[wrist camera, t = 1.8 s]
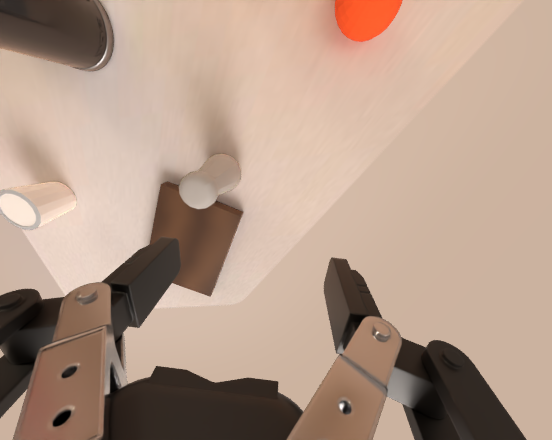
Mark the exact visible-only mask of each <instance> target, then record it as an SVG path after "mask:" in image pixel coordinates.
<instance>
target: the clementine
mask: <svg viewBox="0 0 552 440" xmlns="http://www.w3.org/2000/svg"><path fill="white" fill-rule="evenodd" d="M401 4H402V0H336V2H335V16H336V20H337V24H338V26H339V28H340V30H341V32H342V33H343V34H344V35H345V36H346V37H347V38H349V39H352V40H354V41H366V40H370V39H372V38H374V37H376V36H377V35H379V34H381V33H382V32H383V31H384V30H385V29H386V28H387V27H388V26H389V25H390V23H391V22H392V21H393V19H394V18H395V16H396V14H397V12H398V10H399V8H400V6H401Z"/></svg>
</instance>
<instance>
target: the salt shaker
mask: <svg viewBox="0 0 552 440" xmlns="http://www.w3.org/2000/svg"><path fill="white" fill-rule="evenodd" d="M240 180H241V169H240V166H239V164H238V162H237V161H236V160H235V159H234V158H233V157H231V156H229V155H226V154H216V155H213V156H212V157H210V158H209V159H208V160H207V161H206V162H205V163H204V164H203V166H202V167H201V168H200V170H199V171H195V172H190V173H189V174H187V175H186V176H185V177H183V178H182V179H181V182H180V185H179V194H180V196H181V198H182V199H183V201H184V202H185V203H186V204H187V205H189V206H190V207H193V208H196V209H205V208H207V207H209V206H210V205H212V204H213V203H214V202H215V201H216V199H217V197H218V195H220V194H223V193H226V192H228V191H231V190H232V189H234V188H235V187H236V186H237V185H238V183H239V182H240Z"/></svg>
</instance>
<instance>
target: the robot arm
mask: <svg viewBox="0 0 552 440" xmlns="http://www.w3.org/2000/svg"><path fill="white" fill-rule="evenodd" d="M0 48H1V49H5V50H9V51H13V52H17V53H21V54H25V55H29V56H33V57H37V58H40V59H44V60H48V61H52V62H56V63H60V64H64V65H68V66H71V67H74V68H77V69H81V70H85V71H95V70H99V69H101V68H102V67H104V66H105V65H106V64H107V63H108V61H109V59H110V57H111V55H112V51H113V32H112V27H111V24H110V21H109V18H108V16H107V14H106V12H105V10H104V8H103V7H102V5H101V4H100V2H99V1H98V0H0ZM180 268H181V258H180V248H179V241H178V239H177V238H169V237H160V238H159V239H158V240H157V241H156V242H155V243H153V244H152V245H148V246H146V247H144V248H142V249H140V250H138V251H137V252H136V253H135V254H134V255H132V257H131V258H129V259H128V260H127V261H125V263H123V264H122V265H121V266H120V267H118V268H117V269H116V270H115V271H114V272H113V273H111V274H110V275H109V276H108V277H107V278H106V279H104V280H103V281H102V282H96V283H90V284H86V285H83V286H81V287H78V288H76V289H74V290H73V291H71V292H70V293H69V294H67V295H66V296H65V297H61V298H51V299H43V300H42V298H41V296H40V294H39V292H38V291H37V290H35V289H21V290H16V291H12V292H9V293H6V294H3V295H1V296H0V349H1V350H2V352H3V353H4V356H3V357H1V358H0V418H1V416H3V415H4V413H5V412H6V411H7V410H8V409H9V408H10V407H11V406H12V405H13V404H14V403H15V402H16V400H17V399H18V398H19V397H20V396H21V395H22V394H23V393H24V392H25V391H26V389H27V392H26V396H25V399H24V403H23V406H22V410H21V413H20V416H19V420H18V423H17V427H16V430H15V434H14V437H13V440H373V437H374V434H375V431H376V427H377V425H378V422H379V418H380V415H381V412H382V409H383V406H384V403H385V400H386V397H389V398H391V399H393V400H395V401H397V402H400V403H401V404H403V407H404V410H405V413H406V416H407V419H408V422H409V425H410V428H411V430H412V433H413V436H414V439H415V440H526V438H525V437H524V435H523V434H522V432H521V431H520V430H519V428H518V427H517V425H516V424H515V422H514V421H513V420H512V418H511V417H510V415H509V414H508V412H507V411H506V410H505V408H504V407H503V405H502V404H501V403H500V401H499V400H498V398H497V397H496V395H495V394H494V392H493V391H492V390H491V388H490V387H489V385H488V384H487V382H486V381H485V380H484V378H483V377H482V375H481V374H480V372H479V371H478V370H477V368H476V367H475V365H474V364H473V363H472V361H471V360H470V359H469V358H468V357H467V356H466V355H465V354H464V353H463V352H462V351H460V350H459V349H458V348H456V347H454V346H453V345H451V344H449V343H446V342H444V341H439V340H433V341H431V342H429V344H428V345H427V347H423V346H421V345H419V344H416V343H413V342H411V341H408V340H406V339H404V338H402V337H401V335H400V333H399V332H398V330H397V329H396V328H395V327H394V326H393V325H392V324H391V323H389V322H388V321H386V320H384V319H382V317H381V314H380V312H379V310H378V308H377V306H376V304H375V301H374V299H373V298H372V295H371V294H370V291H369V289H368V287H367V284H366V282H365V280H364V278H363V277H362V276H361V275H360V274H359V273H358V272H357V271H356V270H351V269H350V266H349V264H348V261H347V260H346V259H339V258H331V260H330V262H329V266H328V270H327V274H326V277H325V282H324V294H325V299H326V305H327V309H328V315H329V320H330V325H331V330H332V335H333V340H334V345H335V350H336V353H338V354H339V356H338V357H337V359H336V360H335V362H334V363H333V365H332V367H331V368H330V370H329V371H328V373H327V375H326V377H325V378H324V380H323V381H322V383H321V384H320V386H319V388H318V389H317V391H316V393H315V394H314V396H313V397H312V399H311V401H310V402H309V404H308V406H307V407H306V409H305V410H304V412H303V411H302V410H301V409H300V407H298V405H297V404H295V403H294V402H293V401H292V400H291V399H289V398H288V397H286V396H284V395H283V394H281V393H278V382H277V381H270V380H262V379H254V378H243V379H237V380H231V381H224V382H218V383H215V382H211V381H209V380H207V379H205V378H203V377H200V376H198V375H196V374H194V373H192V372H190V371H188V370H183V369H175V368H168V367H160V366H156V368H155V369H154V371H153V373H152V375H151V377H148V378H144V379H140V380H137V381H134V382H132V383H129V384H128V383H127V376H126V359H125V338H124V333H123V332H124V331H125V330H126V328H127V327H128V326H129V327H137V328H139V327H140V326H141V324H142V323H143V322H144V320H145V319H146V318H147V316H148V315H149V314H150V312H151V311H152V310H153V308H154V307H155V305H156V304H157V303H158V301H159V300H160V299H161V297H162V296H163V294H164V293H165V292H166V290H167V289H168V288H169V286H170V285H171V283H172V282H173V281H174V279H175V278H176V277H177V275H178V273H179V271H180Z"/></svg>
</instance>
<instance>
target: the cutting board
mask: <svg viewBox="0 0 552 440" xmlns="http://www.w3.org/2000/svg"><path fill="white" fill-rule="evenodd" d="M242 215H243V212H242V211H239V210H237V209H234V208H232V207H230V206H227V205H225V204H222V203H220V202H217V201H215V202H214V203H213V204H212V205H210V206H209V207H207V208H205V209H196V208H193V207H190V206H189V205H187V204H186V203H185V202H184V201H183V199H182V198H181V196H180V194H179V186H178V185H175V184H173V183H170V182H168V181H167V182H165V183H163V184H161V187H160V192H159V198H158V203H157V208H156V214H155V219H154V224H153V230H152V235H151V241H150V245H152V244H153V243H155V242H156V241H157V240H158V239H159V238H160V237H169V238H177V239H178V241H179V248H180V258H181V268H180V271H179V273H178V275H177V277H176V278H175V279H174V281H173V282H172V283H174V284H176V285H179V286H182V287H185V288H188V289H191V290H193V291H196V292H199V293H202V294H205V295H207V296H210V297H211V295H212V292H213V290H214V288H215V285H216V283H217V280H218V277H219V275H220V272H221V269H222V267H223V264H224V262H225V259H226V256H227V254H228V251H229V249H230V246H231V243H232V241H233V238H234V236H235V233H236V230H237V228H238V225H239V222H240V220H241V217H242Z"/></svg>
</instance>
